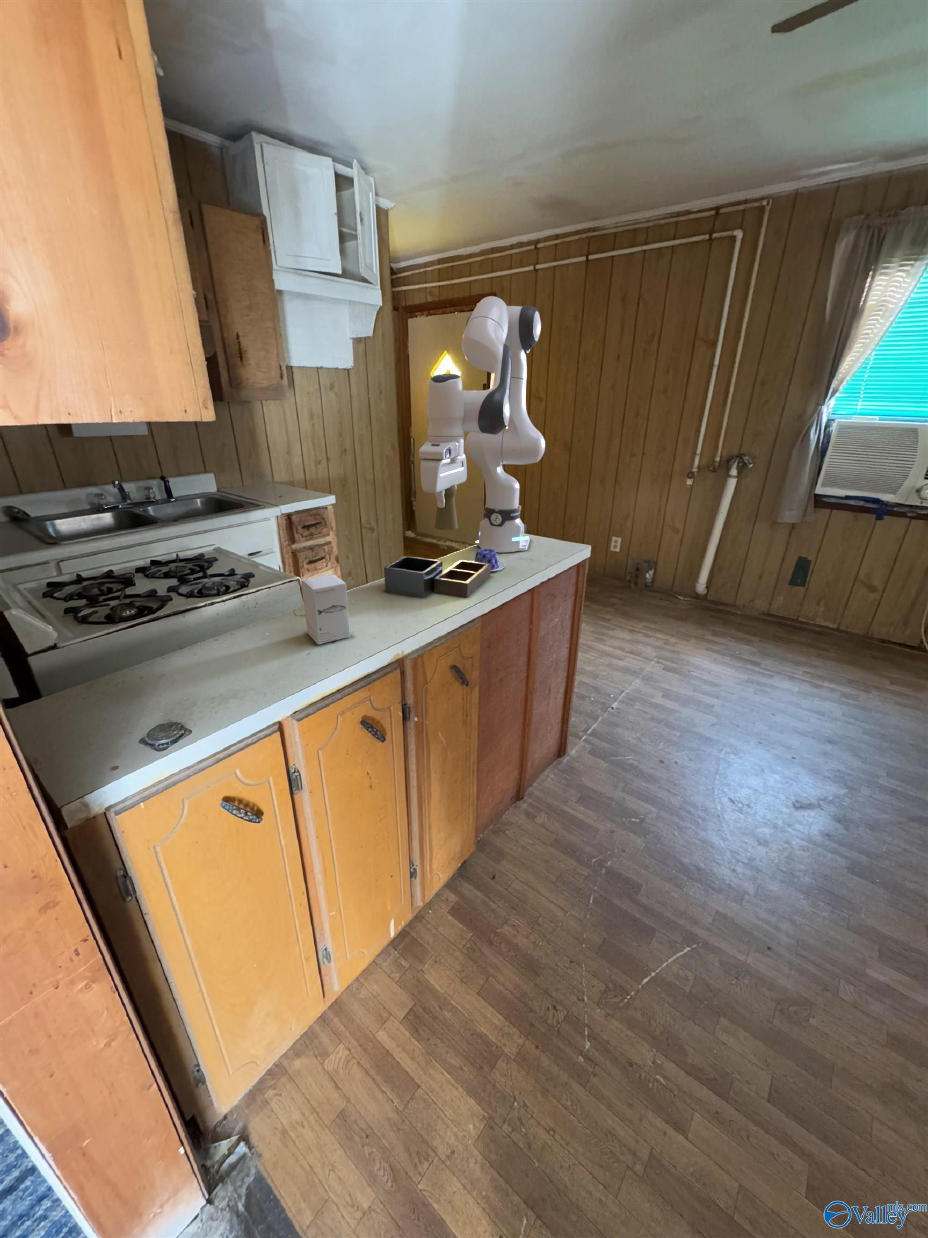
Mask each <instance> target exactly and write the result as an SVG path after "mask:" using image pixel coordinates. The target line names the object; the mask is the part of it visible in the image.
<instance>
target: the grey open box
mask: <svg viewBox="0 0 928 1238" xmlns="http://www.w3.org/2000/svg"><path fill="white" fill-rule="evenodd" d="M442 572H443V560H440V559H439V560H438V559H432V558H424V557H418V556H409V555H408V556H407V555H404V556H402V557H401V558H398V559H397V560H394V561H393V562H391V563H390V564H388V565H386V566H384V567H383V574H384V577H383V578H384V592H386V593H390V594H397V595H403V596H408V597H409V596H410V597H416V598H420V599H421V598H422V599H425V598H426V597H427V596H429V595H430V594H431V593H434V578H435V577H437V576H438V575H439V574H441V573H442Z"/></svg>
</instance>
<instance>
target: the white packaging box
mask: <svg viewBox="0 0 928 1238" xmlns="http://www.w3.org/2000/svg"><path fill="white" fill-rule="evenodd" d="M300 583H301V584H300V585H301V591H302V599H303V608H304V615H305V623H306V631H307V634H308V635H309V636H310V637H311V639H312V640H313V641H314V642H315V643H316V644H317V645H323V644H325V643H326V644H327V643H329V642H334V641H338V640H343V639H348V638H351V628H350V618H349V608H348V607H349V606H348V594H347V583H346V582H345V581H344V580H342V579H341V578H340V577H338V576H337V575H336V574H335V573H333V574H327V575H322V576H317V577H309V578H304V579H301V580H300Z"/></svg>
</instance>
